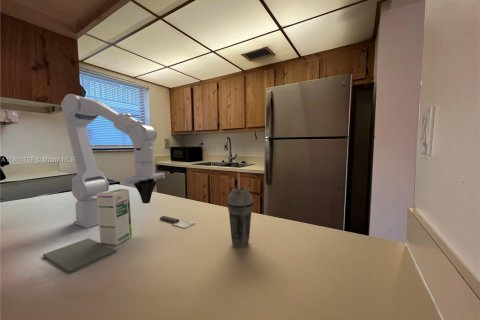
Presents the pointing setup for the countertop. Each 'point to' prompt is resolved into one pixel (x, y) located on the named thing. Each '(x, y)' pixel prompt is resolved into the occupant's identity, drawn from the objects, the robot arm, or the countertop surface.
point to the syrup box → (114, 216)
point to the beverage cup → (240, 215)
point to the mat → (79, 254)
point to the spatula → (178, 222)
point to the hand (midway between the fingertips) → (146, 202)
